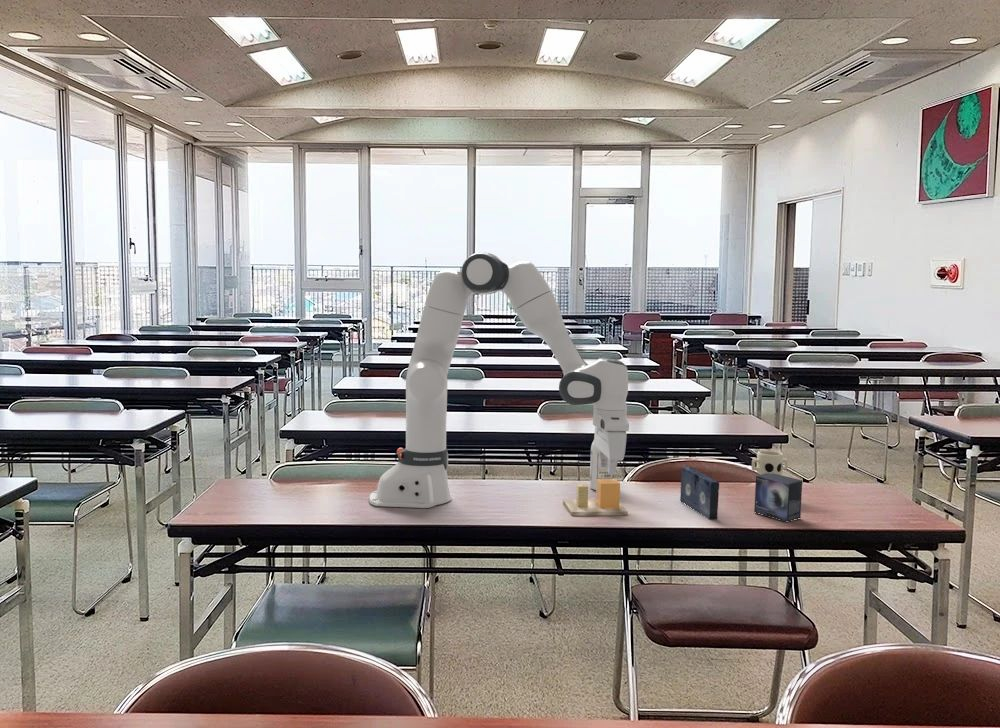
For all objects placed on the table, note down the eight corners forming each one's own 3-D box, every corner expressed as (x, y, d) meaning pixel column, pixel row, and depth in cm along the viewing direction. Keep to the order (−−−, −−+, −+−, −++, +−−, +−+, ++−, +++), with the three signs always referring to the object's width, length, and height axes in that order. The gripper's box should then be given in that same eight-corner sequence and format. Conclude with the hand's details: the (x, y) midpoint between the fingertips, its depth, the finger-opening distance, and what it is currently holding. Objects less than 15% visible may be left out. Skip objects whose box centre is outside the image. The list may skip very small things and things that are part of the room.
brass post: (578, 507, 226) (578, 486, 226) (576, 504, 229) (576, 484, 228) (587, 506, 226) (588, 486, 226) (585, 504, 229) (586, 484, 228)
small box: (752, 513, 227) (754, 474, 226) (767, 509, 231) (769, 471, 230) (786, 523, 218) (788, 483, 217) (801, 519, 222) (803, 479, 221)
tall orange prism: (600, 508, 226) (600, 483, 225) (595, 502, 231) (596, 479, 230) (619, 507, 226) (620, 483, 225) (614, 502, 231) (615, 478, 231)
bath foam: (618, 489, 250) (620, 422, 248) (601, 492, 246) (603, 424, 244) (601, 484, 255) (603, 418, 253) (584, 487, 251) (586, 421, 249)
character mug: (755, 501, 240) (758, 455, 238) (744, 494, 247) (746, 450, 245) (791, 500, 241) (794, 455, 240) (780, 493, 248) (782, 449, 247)
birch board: (571, 515, 221) (571, 511, 221) (563, 503, 233) (563, 499, 233) (627, 514, 223) (627, 511, 223) (616, 502, 235) (616, 499, 235)
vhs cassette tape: (718, 519, 221) (719, 482, 220) (707, 520, 220) (709, 482, 219) (689, 501, 238) (691, 466, 237) (679, 501, 238) (681, 466, 237)
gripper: (589, 412, 236) (587, 461, 237) (606, 425, 216) (604, 479, 217) (612, 413, 236) (609, 461, 238) (631, 425, 216) (628, 479, 218)
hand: (607, 470), depth 227 cm, fingers open, 8 cm apart
